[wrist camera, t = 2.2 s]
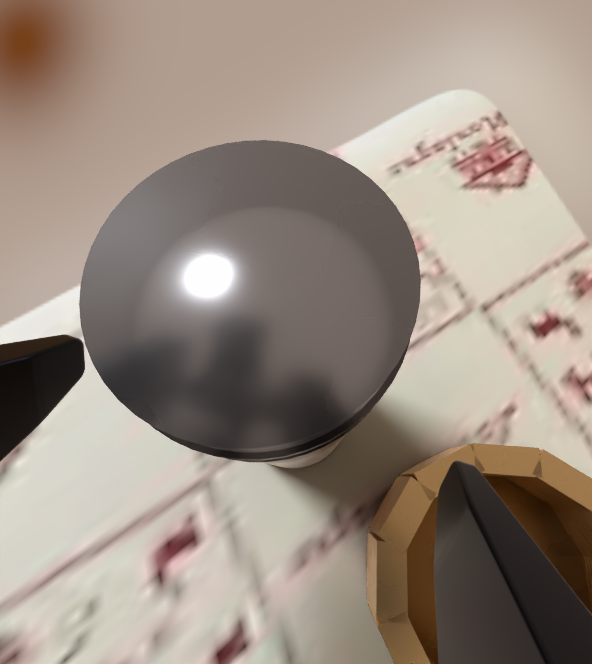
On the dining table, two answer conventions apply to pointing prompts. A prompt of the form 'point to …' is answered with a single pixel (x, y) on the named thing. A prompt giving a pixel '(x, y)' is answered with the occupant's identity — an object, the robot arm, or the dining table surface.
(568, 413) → the dining table surface
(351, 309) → the grey metal cylinder
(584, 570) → the ring collar
